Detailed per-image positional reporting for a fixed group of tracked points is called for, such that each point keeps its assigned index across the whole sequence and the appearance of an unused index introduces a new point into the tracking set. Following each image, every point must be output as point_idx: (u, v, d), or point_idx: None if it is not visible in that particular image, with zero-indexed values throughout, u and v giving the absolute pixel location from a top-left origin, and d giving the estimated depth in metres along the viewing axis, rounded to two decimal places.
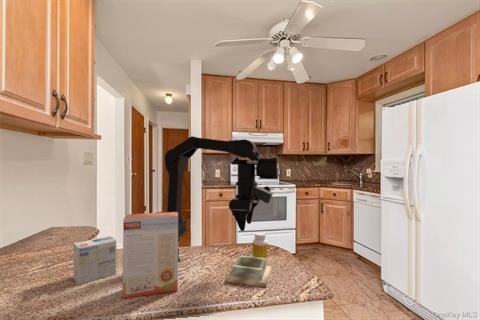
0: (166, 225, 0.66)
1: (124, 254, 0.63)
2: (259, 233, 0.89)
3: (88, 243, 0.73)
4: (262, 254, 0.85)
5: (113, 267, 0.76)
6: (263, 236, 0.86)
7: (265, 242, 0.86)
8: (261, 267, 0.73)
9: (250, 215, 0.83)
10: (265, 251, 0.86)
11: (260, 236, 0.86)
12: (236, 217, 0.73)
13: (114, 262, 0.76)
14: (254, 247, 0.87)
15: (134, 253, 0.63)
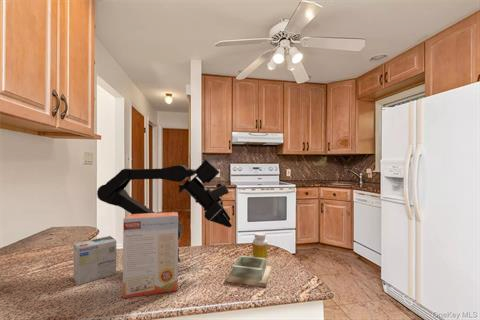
0: (166, 225, 0.66)
1: (124, 254, 0.63)
2: (259, 233, 0.89)
3: (88, 243, 0.73)
4: (262, 254, 0.85)
5: (113, 267, 0.76)
6: (263, 236, 0.86)
7: (265, 242, 0.86)
8: (261, 267, 0.73)
9: (225, 213, 0.91)
10: (265, 251, 0.86)
11: (260, 236, 0.86)
12: (218, 221, 0.81)
13: (114, 262, 0.76)
14: (254, 247, 0.87)
15: (134, 253, 0.63)
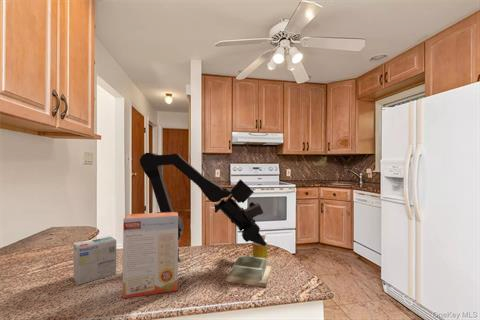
0: (166, 225, 0.66)
1: (124, 254, 0.63)
2: None
3: (88, 243, 0.73)
4: (262, 254, 0.85)
5: (113, 267, 0.76)
6: (263, 236, 0.86)
7: None
8: (261, 267, 0.73)
9: None
10: (265, 251, 0.86)
11: None
12: (254, 240, 0.84)
13: (114, 262, 0.76)
14: (254, 247, 0.87)
15: (134, 253, 0.63)
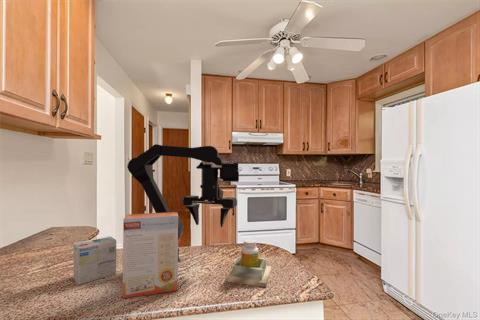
0: (166, 225, 0.66)
1: (124, 254, 0.63)
2: (249, 240, 0.77)
3: (88, 243, 0.73)
4: (248, 264, 0.74)
5: (113, 267, 0.76)
6: (251, 244, 0.75)
7: (253, 251, 0.75)
8: (261, 267, 0.73)
9: (198, 216, 0.87)
10: (253, 261, 0.74)
11: (247, 243, 0.75)
12: (224, 215, 0.83)
13: (114, 262, 0.76)
14: (241, 255, 0.76)
15: (134, 253, 0.63)
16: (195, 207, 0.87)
